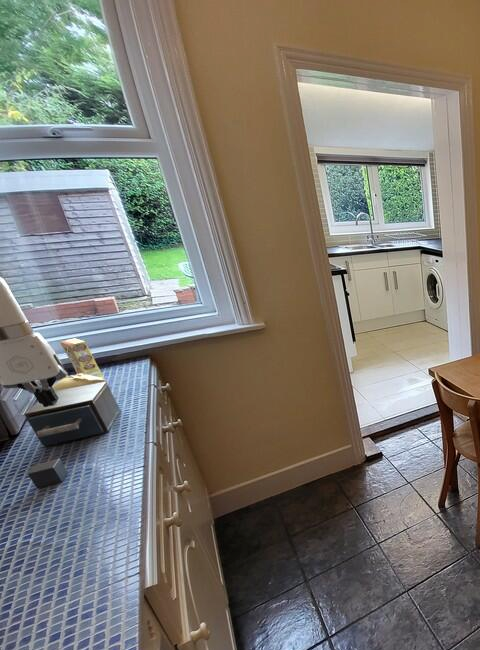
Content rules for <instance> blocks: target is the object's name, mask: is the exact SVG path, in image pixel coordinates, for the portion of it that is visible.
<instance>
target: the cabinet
mask: <svg viewBox="0 0 480 650" xmlns="http://www.w3.org/2000/svg"><path fill="white" fill-rule="evenodd" d="M55 393H56V394H57V396H58V400H57V403H56V404H55V405H53V406H48V407H44V406H43V404H42V403H41V404H40V403H39V402H38V400H36V402H35V403H34V404H33V405H32V406H31V407H30V408H28V410H26V411H25V412H24V413H23V414H24V416H25V418H26V419H27V418H28V417H33V416H35V415H36V414H41V413H46V412H51V411H56V410H60V409H65V408H70V407H75V406H80V405H84V404H89V403H90V406H91V407H92V409H93V411H94V413H95V415H96V417H97V419H98V420H99V422H100V424H101V426H102V428H103V430H104V431H103V432H101V433H97V434H93V435H89V436H84V437H80V438H76V439H72V440H67V441H63V442H59V443H55V444H50V445H46V446H43V447H44V448H45V447H50V446H54V445H58V444H62V443H66V442H70V441H75V440H79V439H83V438H88V437H92V436H96V435H100V434H105V433H109V432H110V430H111V428H112V427H113V425H114V424H115V422H116V420H117V418H118V416H119V414H120V413H121V408H120V407H119V404H118V402H117V401H116V398H115V397H114V395H113V393H112V390H111V388H110V386H109V385H108V383H107V381H106V382H101V383H96V384H91V385H85V386H80V387H75V388H70V389H65V390H59V391H55Z"/></svg>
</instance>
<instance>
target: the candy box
mask: <svg viewBox="0 0 480 650" xmlns="http://www.w3.org/2000/svg"><path fill="white" fill-rule="evenodd" d="M60 345H61V347H62V349H63V351H64V352H65V354H66V356H67V358H68V360H69V361H70V363H71V365H72V367H73V369H74V370H75V372H76V374H79V373H84V374H87V375H90V376H94V377H101V378H103V379H104V380H105V381H106V379H105V377H104V375H103V373H102V371H101V369H100V368H99V366H98V364H97V362H96V360H95V357H94V356H93V354H92V352H91V350H90V348H89V346H88V344H87V342H86V341H84V340H81V339H78V338H71V339H67V340H62V341H60Z"/></svg>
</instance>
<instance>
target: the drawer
mask: <svg viewBox="0 0 480 650" xmlns="http://www.w3.org/2000/svg"><path fill="white" fill-rule="evenodd" d="M26 421H27V422H28V424H29V426H30V427H31V429H32V430H33V432H34V434H35V435H36V436H37V439H38V440H39V442H40V443H41V445H42V446H43V447H44V446H46V445H50V444H54V445H56V444H55V443H59V442H63V441H67V440H71V441H73V440H72V439H75V440H77V439H76V438H80V437H84V436H88V437H90V436H89V435H92V436H94V435H93V434H97V433H101V432H103V431H104V430H103V428H102V426H101V424H100V422H99V420H98V419H97V417H96V415H95V413H94V411H93V409H92V407H91V406H90V403H89V404H84V405H80V406H75V407H70V408H65V409H60V410H56V411H51V412H46V413H41V414H36V415H35V416H33V417H28V418H26ZM101 434H102V433H101ZM97 435H98V434H97ZM84 438H85V437H84ZM80 439H81V438H80ZM67 442H68V441H67ZM63 443H64V442H63ZM59 444H60V443H59ZM50 446H51V445H50ZM46 447H47V446H46Z"/></svg>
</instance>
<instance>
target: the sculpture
mask: <svg viewBox="0 0 480 650" xmlns="http://www.w3.org/2000/svg"><path fill="white" fill-rule="evenodd" d="M104 379H105V378H104ZM104 379H103V378H101V377H94V376H90V375H87V374H84V373H79V374H77V373H75V374H73V375H67V376H66V377H65V378H62V379H60V380H58V381H56V382H55V383H54V385H53V386H52V388H53V389H54V391H59V390H65V389H70V388H75V387H80V386H85V385H91V384H96V383H101V382H107V381H106V379H105V380H104Z"/></svg>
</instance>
